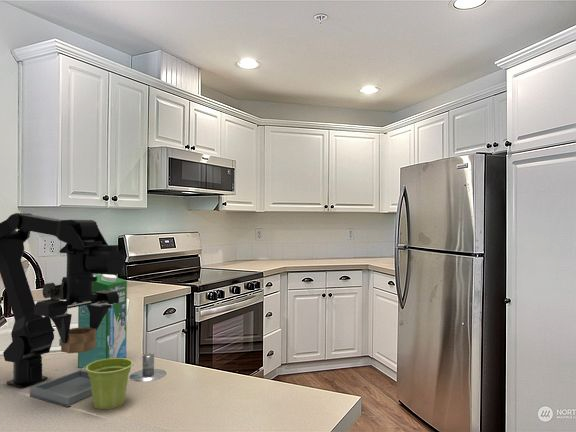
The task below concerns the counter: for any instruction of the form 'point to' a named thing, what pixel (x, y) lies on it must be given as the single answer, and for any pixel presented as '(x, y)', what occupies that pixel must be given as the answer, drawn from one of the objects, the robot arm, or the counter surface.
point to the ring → (79, 340)
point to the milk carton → (107, 323)
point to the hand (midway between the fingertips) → (78, 338)
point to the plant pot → (109, 381)
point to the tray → (64, 389)
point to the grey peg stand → (148, 371)
